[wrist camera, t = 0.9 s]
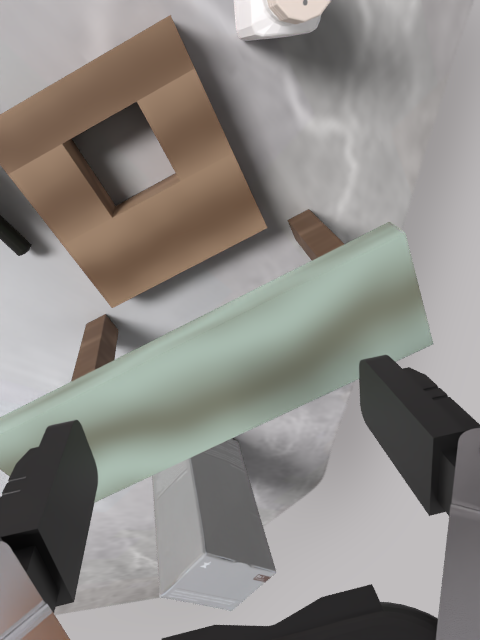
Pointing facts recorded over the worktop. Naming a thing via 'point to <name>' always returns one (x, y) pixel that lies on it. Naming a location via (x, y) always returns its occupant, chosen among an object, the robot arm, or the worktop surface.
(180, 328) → the stand
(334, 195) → the worktop surface
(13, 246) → the handheld radio
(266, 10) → the pepper shaker
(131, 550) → the worktop surface
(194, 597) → the skincare box
